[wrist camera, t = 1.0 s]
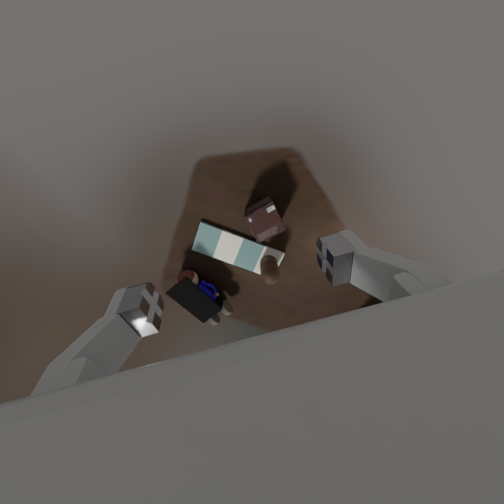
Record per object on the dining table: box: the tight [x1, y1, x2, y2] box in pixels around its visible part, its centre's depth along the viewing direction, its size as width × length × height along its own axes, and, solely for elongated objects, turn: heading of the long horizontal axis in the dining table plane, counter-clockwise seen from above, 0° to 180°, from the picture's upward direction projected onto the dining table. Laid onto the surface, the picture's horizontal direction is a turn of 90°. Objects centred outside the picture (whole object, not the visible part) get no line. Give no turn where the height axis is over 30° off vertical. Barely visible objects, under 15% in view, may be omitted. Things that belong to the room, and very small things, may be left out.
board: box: [192, 221, 285, 274], centre depth 50 cm, size 20×7×1 cm, turn 68°
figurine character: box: [166, 270, 233, 325], centre depth 52 cm, size 7×8×15 cm
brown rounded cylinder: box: [260, 255, 280, 284], centre depth 47 cm, size 4×4×8 cm
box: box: [244, 196, 286, 243], centre depth 44 cm, size 6×6×7 cm
